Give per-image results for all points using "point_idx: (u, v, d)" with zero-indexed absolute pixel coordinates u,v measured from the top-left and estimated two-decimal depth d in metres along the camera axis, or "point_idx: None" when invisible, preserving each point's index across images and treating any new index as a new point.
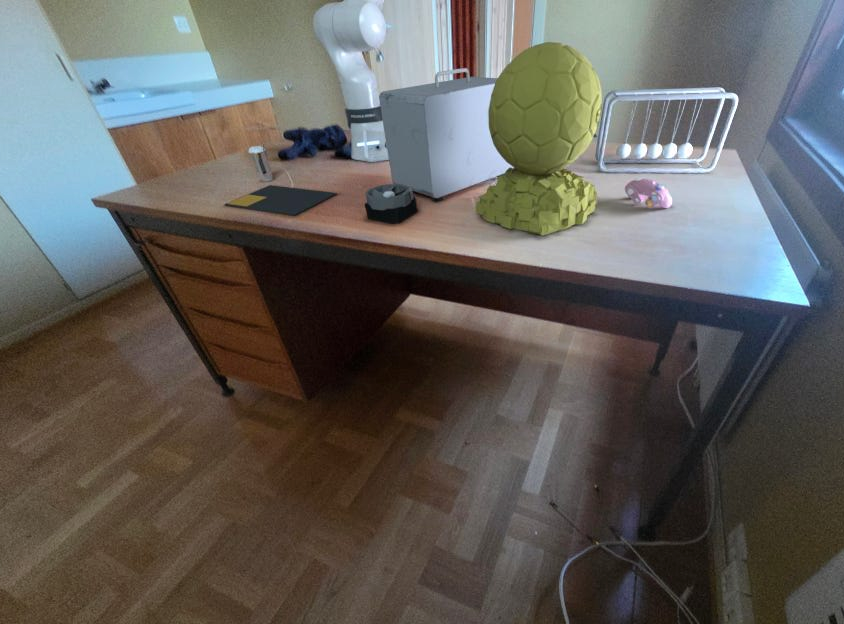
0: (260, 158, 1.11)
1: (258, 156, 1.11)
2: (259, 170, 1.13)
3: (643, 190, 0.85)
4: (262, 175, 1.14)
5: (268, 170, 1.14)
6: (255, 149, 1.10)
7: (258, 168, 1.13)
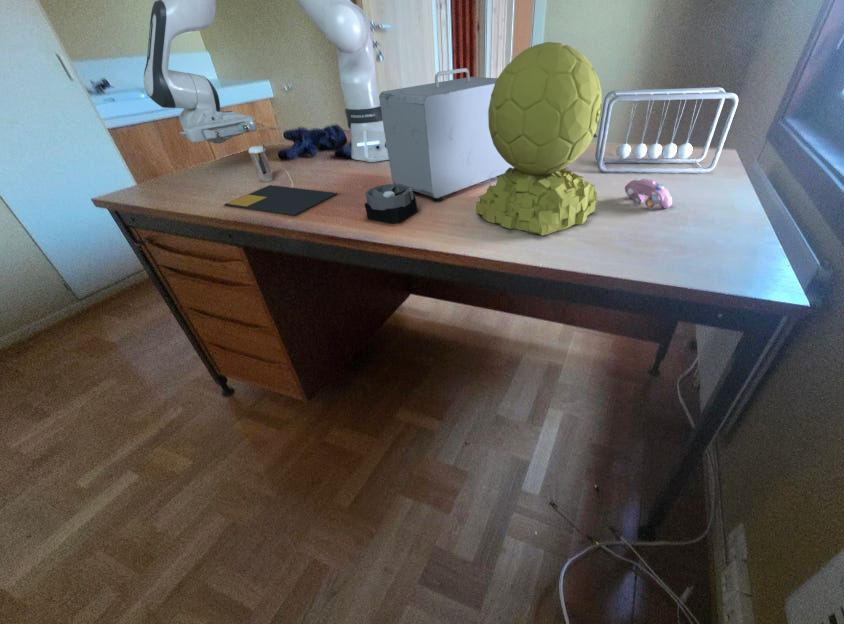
0: (260, 158, 1.11)
1: (258, 156, 1.11)
2: (259, 170, 1.13)
3: (643, 190, 0.85)
4: (262, 175, 1.14)
5: (268, 170, 1.14)
6: (255, 149, 1.10)
7: (258, 168, 1.13)
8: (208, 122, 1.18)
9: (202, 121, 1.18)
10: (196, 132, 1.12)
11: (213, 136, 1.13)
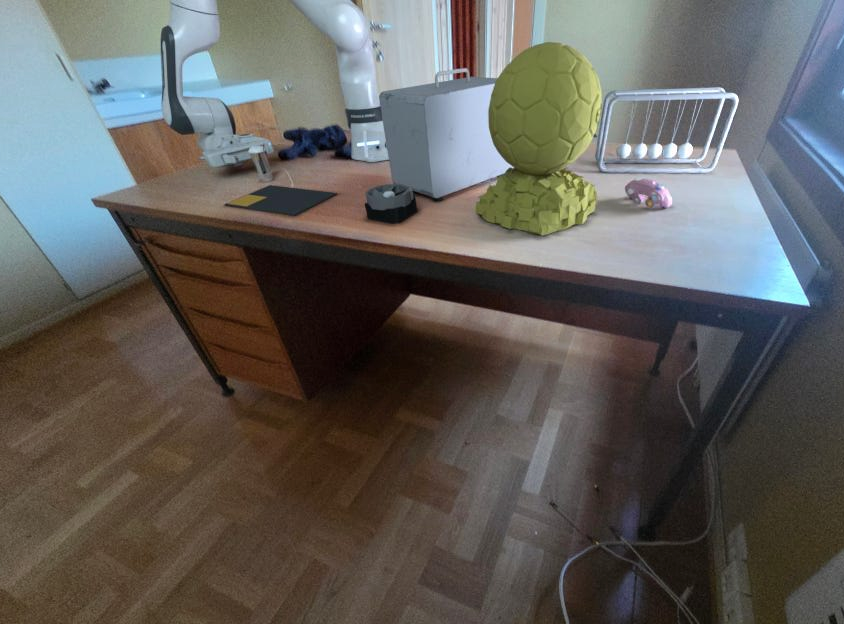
0: (260, 158, 1.11)
1: (258, 156, 1.11)
2: (259, 170, 1.13)
3: (643, 190, 0.85)
4: (262, 175, 1.14)
5: (268, 170, 1.14)
6: (255, 149, 1.10)
7: (258, 168, 1.13)
8: (227, 146, 1.19)
9: (221, 145, 1.19)
10: (216, 157, 1.13)
11: (232, 161, 1.14)
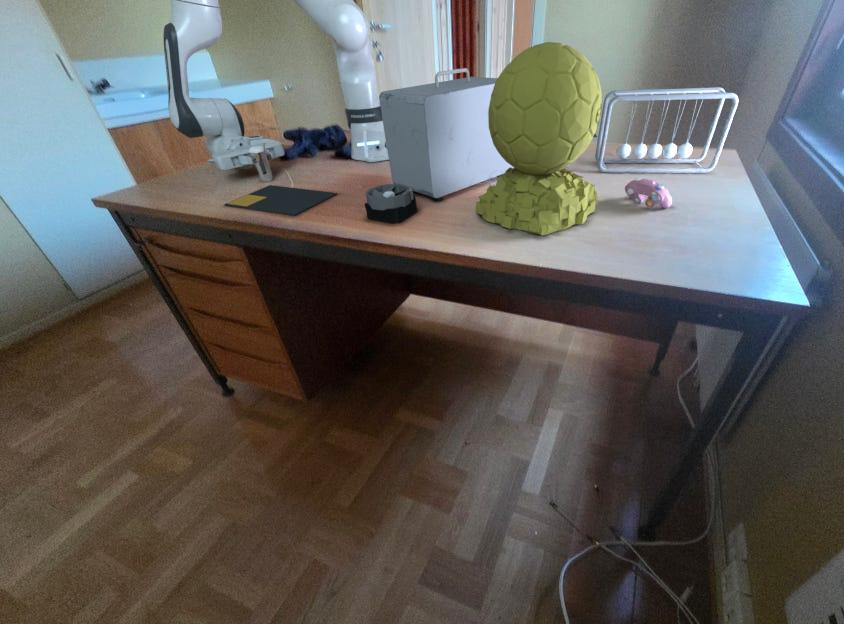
0: (260, 158, 1.11)
1: (258, 156, 1.11)
2: (259, 170, 1.13)
3: (643, 190, 0.85)
4: (262, 175, 1.14)
5: (268, 170, 1.14)
6: (255, 149, 1.10)
7: (258, 168, 1.13)
8: (236, 148, 1.15)
9: (230, 147, 1.16)
10: (225, 160, 1.10)
11: (249, 162, 1.11)
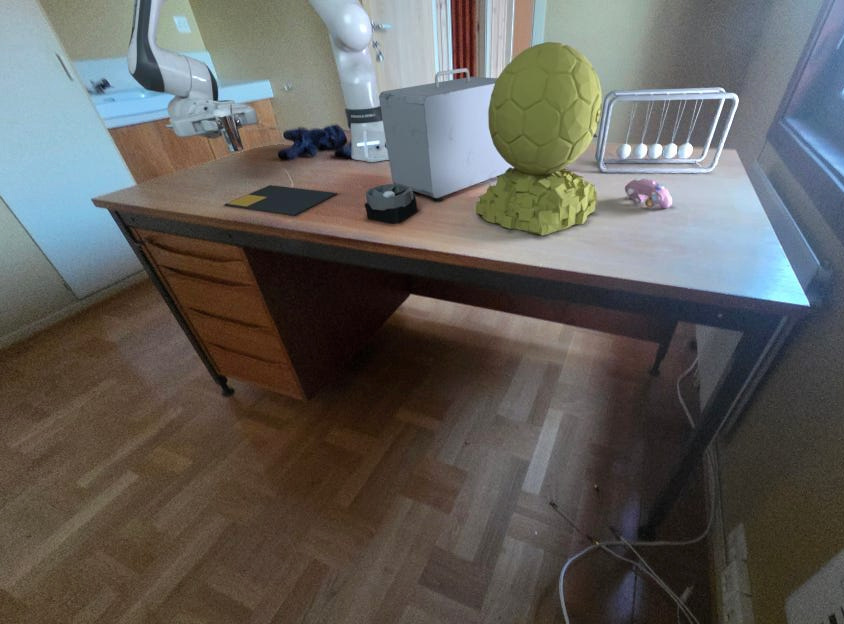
0: (226, 123, 0.95)
1: (224, 120, 0.94)
2: (226, 138, 0.97)
3: (643, 190, 0.85)
4: (230, 144, 0.98)
5: (237, 138, 0.98)
6: (221, 112, 0.93)
7: (225, 135, 0.96)
8: (200, 113, 0.99)
9: (193, 112, 0.99)
10: (185, 125, 0.93)
11: (214, 128, 0.94)
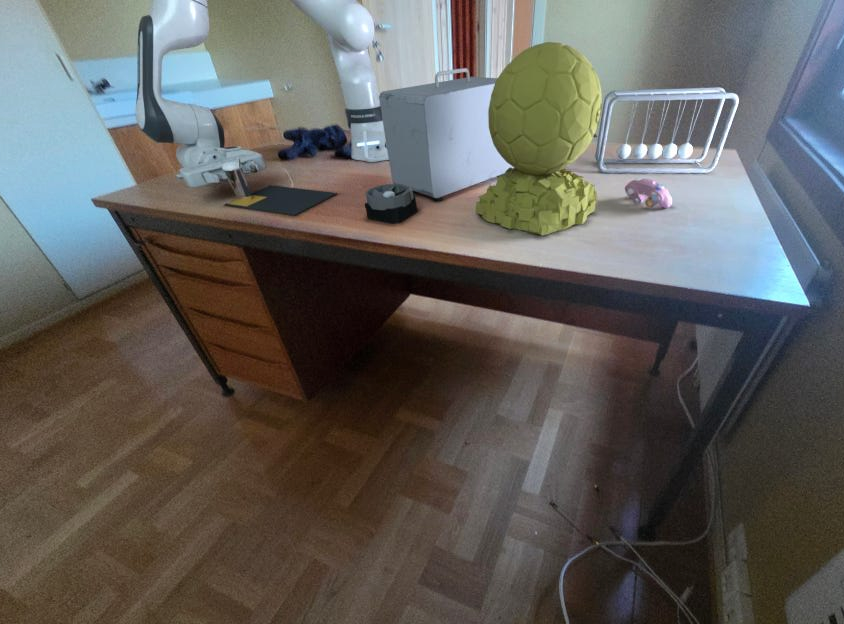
0: (235, 176, 0.97)
1: (233, 174, 0.96)
2: (235, 189, 0.99)
3: (643, 190, 0.85)
4: (239, 195, 1.00)
5: (246, 189, 1.00)
6: (230, 166, 0.95)
7: (234, 187, 0.98)
8: (209, 162, 1.00)
9: (202, 160, 1.00)
10: (195, 176, 0.95)
11: (215, 180, 0.95)
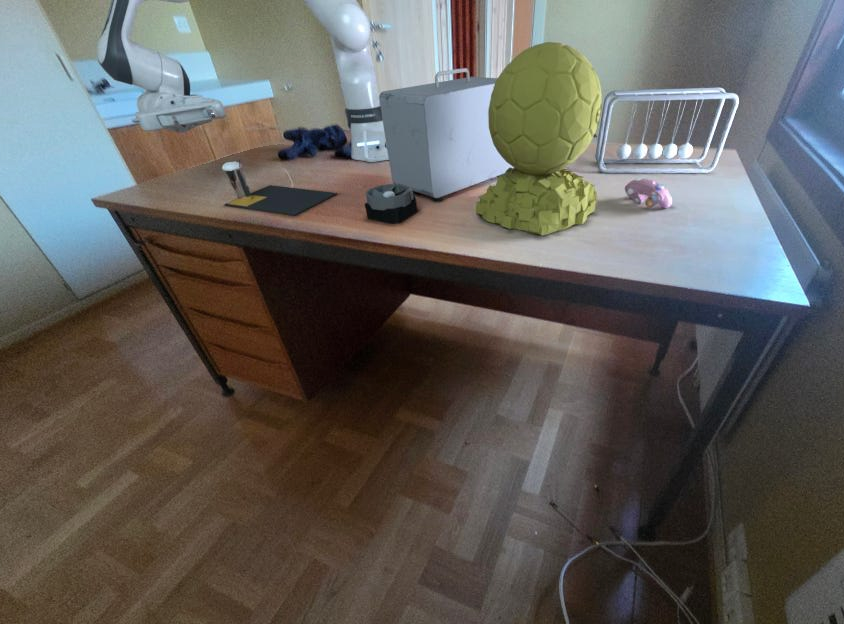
0: (235, 176, 0.97)
1: (233, 174, 0.96)
2: (235, 189, 0.99)
3: (643, 190, 0.85)
4: (239, 195, 1.00)
5: (246, 189, 1.00)
6: (230, 166, 0.95)
7: (234, 187, 0.98)
8: (167, 107, 0.99)
9: (160, 106, 1.00)
10: (150, 118, 0.94)
11: (170, 123, 0.94)
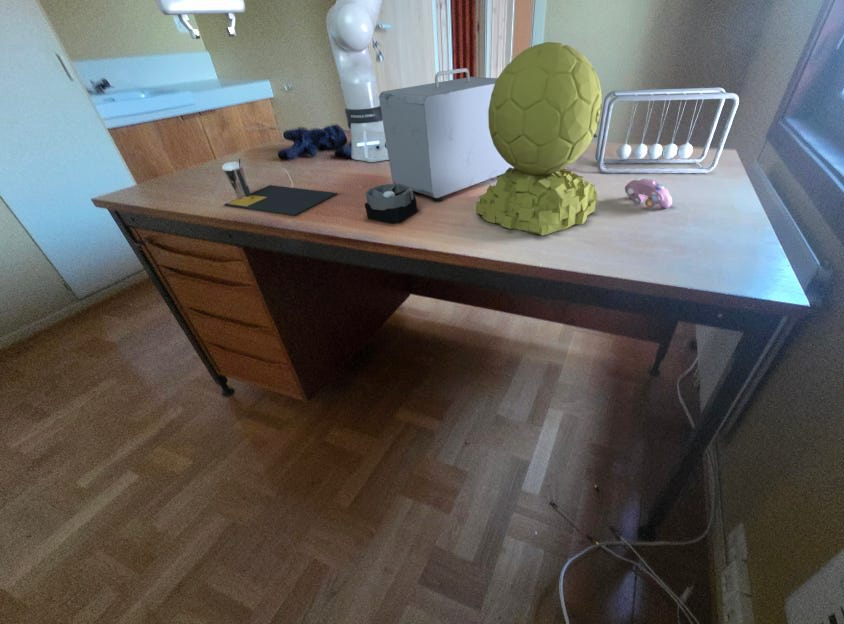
0: (235, 176, 0.97)
1: (233, 174, 0.96)
2: (235, 189, 0.99)
3: (643, 190, 0.85)
4: (239, 195, 1.00)
5: (246, 189, 1.00)
6: (230, 166, 0.95)
7: (234, 187, 0.98)
8: None
9: None
10: (172, 14, 0.93)
11: (190, 34, 0.97)
